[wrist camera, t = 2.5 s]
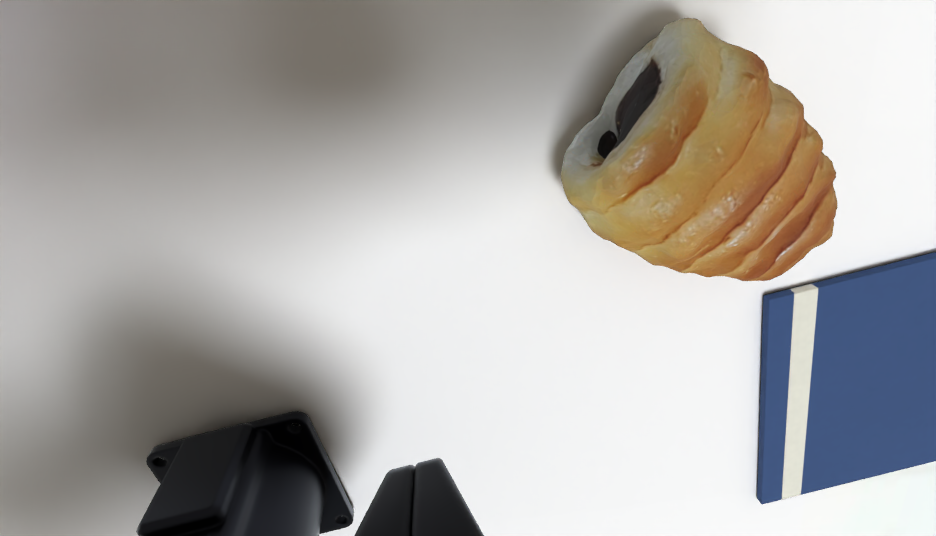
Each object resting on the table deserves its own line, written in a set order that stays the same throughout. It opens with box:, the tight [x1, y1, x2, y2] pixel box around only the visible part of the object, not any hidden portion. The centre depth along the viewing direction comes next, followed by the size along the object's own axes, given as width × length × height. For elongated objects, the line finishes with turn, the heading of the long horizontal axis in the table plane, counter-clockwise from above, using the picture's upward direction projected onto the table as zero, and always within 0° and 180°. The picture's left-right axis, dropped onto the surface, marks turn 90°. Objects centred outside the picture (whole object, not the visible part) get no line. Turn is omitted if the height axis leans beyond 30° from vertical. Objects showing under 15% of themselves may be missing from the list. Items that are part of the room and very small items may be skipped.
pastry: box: [561, 18, 837, 281], centre depth 17 cm, size 9×7×4 cm
